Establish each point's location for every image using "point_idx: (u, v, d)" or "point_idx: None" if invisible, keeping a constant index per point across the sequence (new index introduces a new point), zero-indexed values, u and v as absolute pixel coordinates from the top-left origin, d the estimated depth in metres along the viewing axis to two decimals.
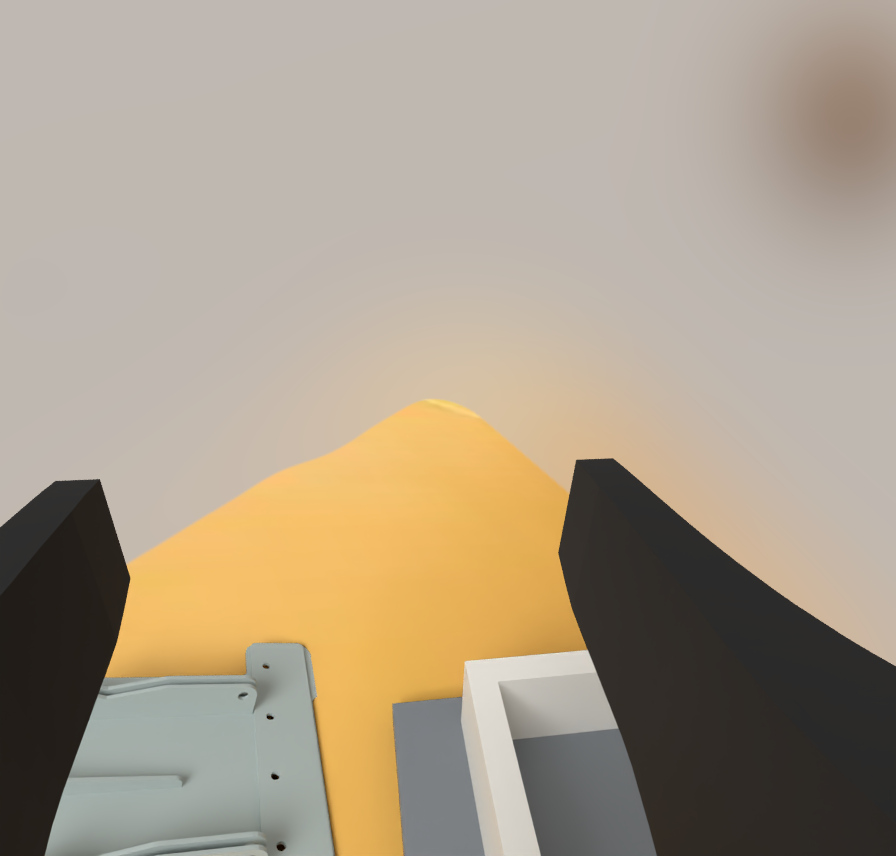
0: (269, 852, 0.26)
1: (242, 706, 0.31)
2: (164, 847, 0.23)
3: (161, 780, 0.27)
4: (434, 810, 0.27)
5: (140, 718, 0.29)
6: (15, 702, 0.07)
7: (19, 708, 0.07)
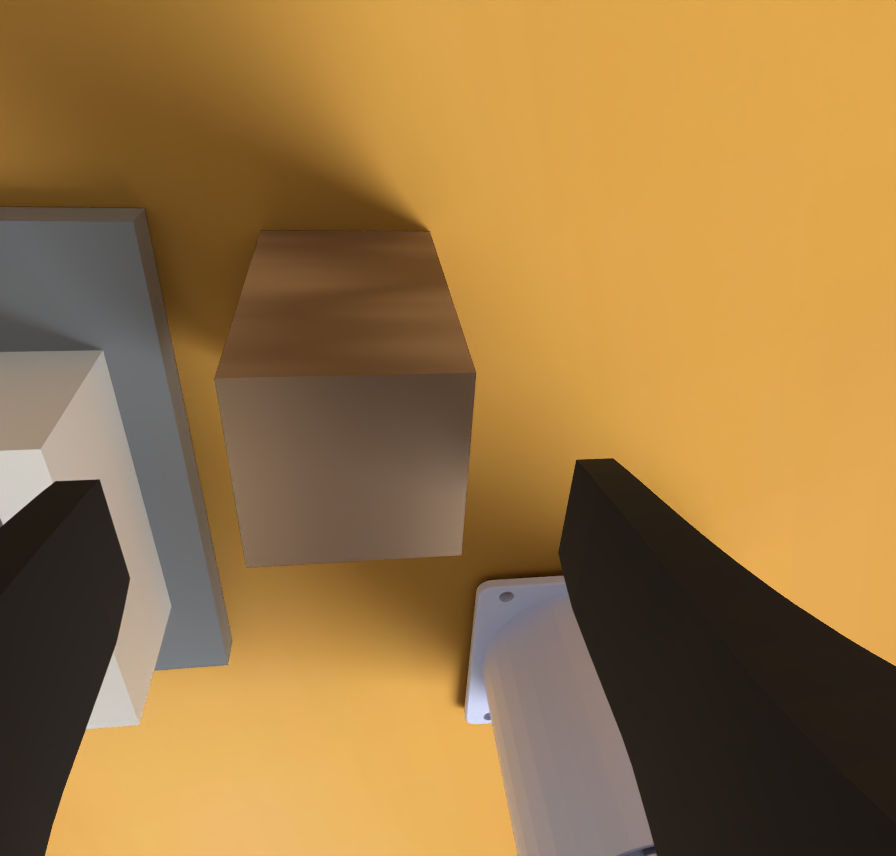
0: None
1: None
2: None
3: None
4: None
5: None
6: (15, 703, 0.07)
7: (19, 708, 0.07)
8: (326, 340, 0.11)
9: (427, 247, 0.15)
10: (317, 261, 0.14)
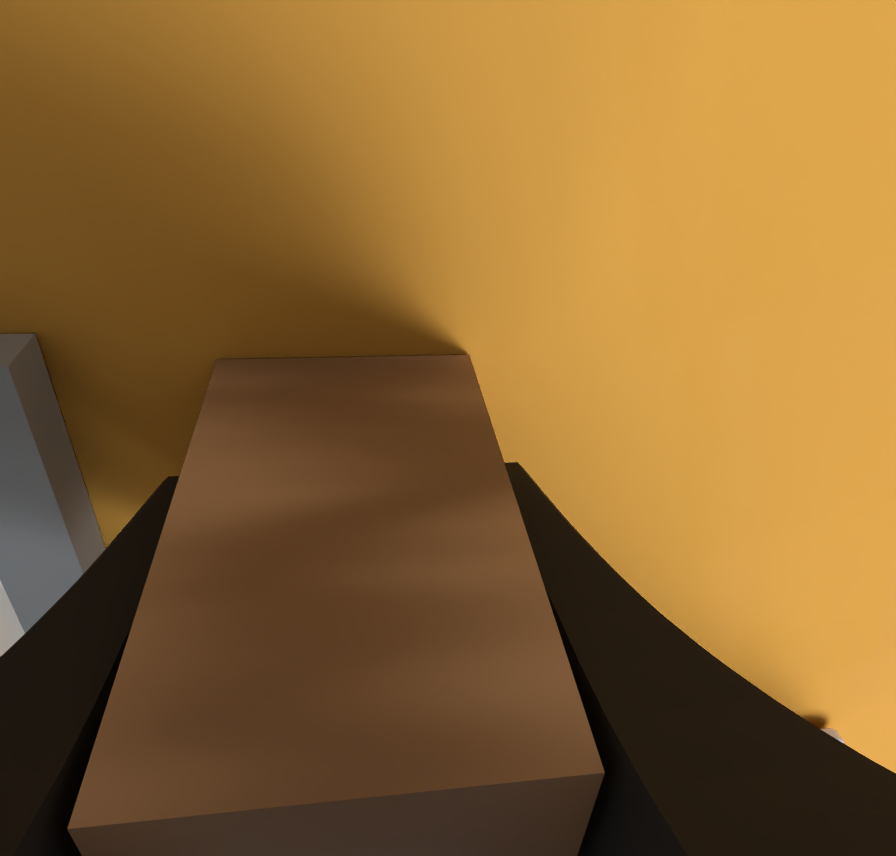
0: None
1: None
2: None
3: None
4: None
5: None
6: None
7: None
8: (307, 668, 0.06)
9: (470, 392, 0.10)
10: (299, 432, 0.09)
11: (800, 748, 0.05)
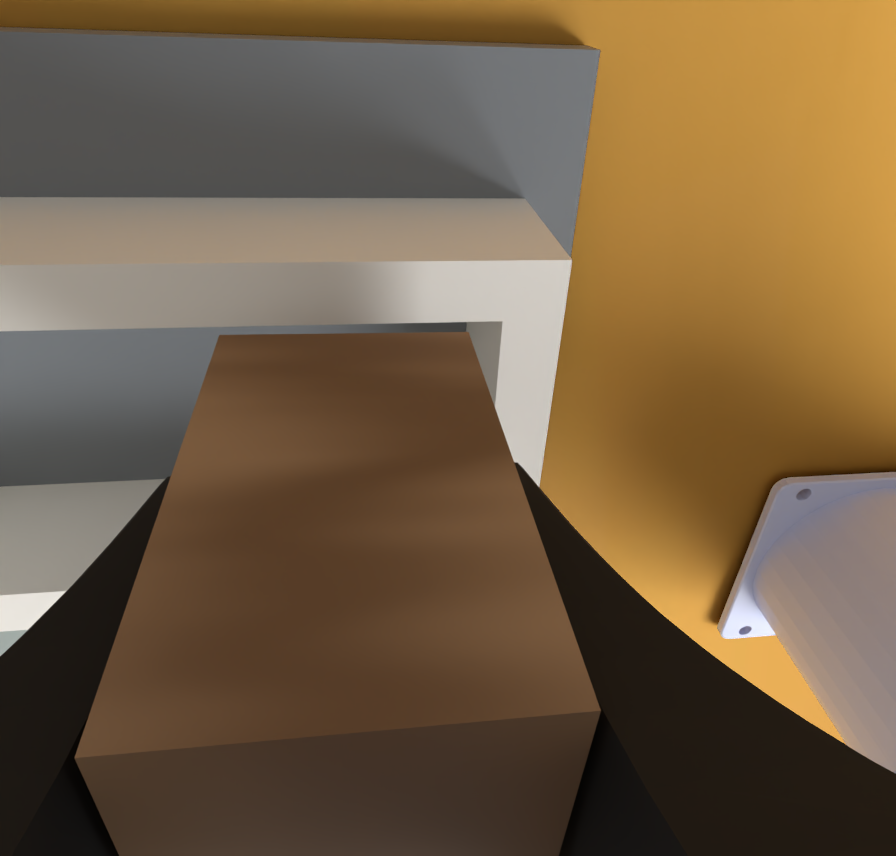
0: None
1: None
2: None
3: None
4: None
5: None
6: None
7: None
8: (310, 615, 0.06)
9: (469, 366, 0.10)
10: (300, 401, 0.09)
11: (801, 748, 0.05)
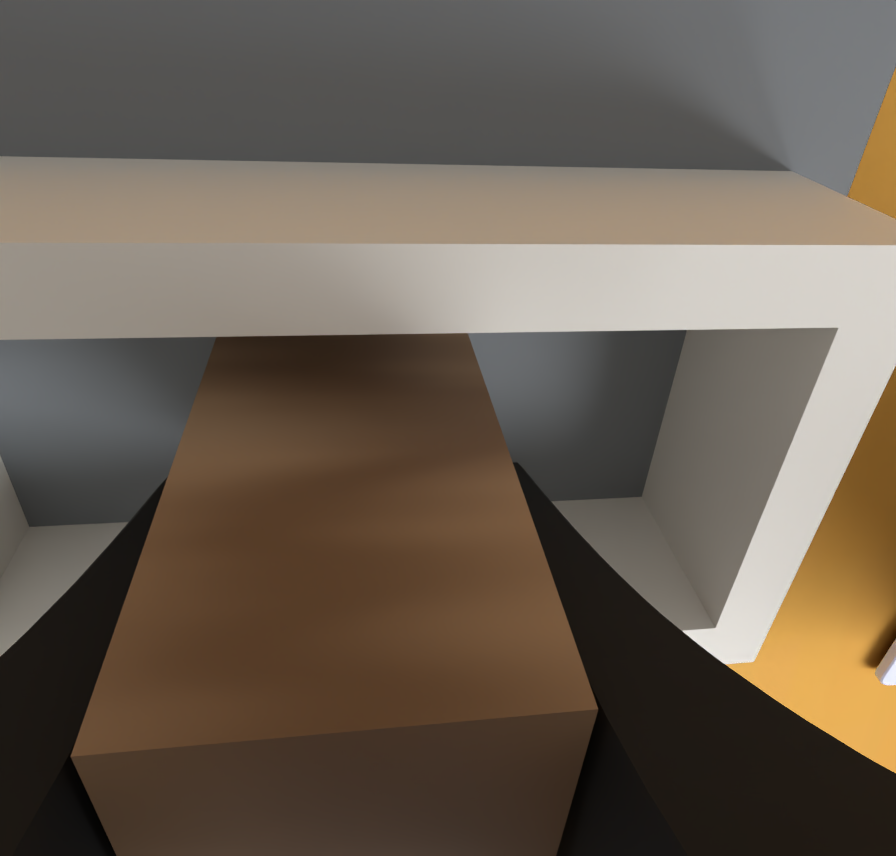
0: None
1: None
2: None
3: None
4: None
5: None
6: None
7: None
8: (306, 614, 0.06)
9: (467, 365, 0.10)
10: (298, 400, 0.09)
11: (800, 748, 0.05)
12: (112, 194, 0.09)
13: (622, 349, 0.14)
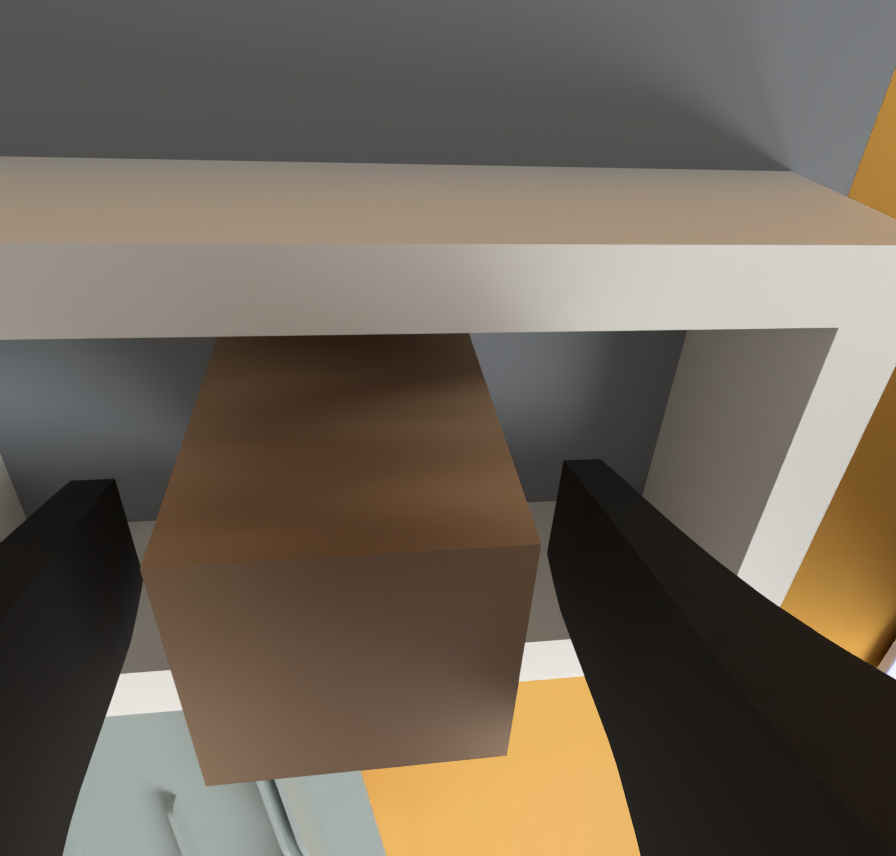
0: None
1: None
2: (285, 837, 0.19)
3: (179, 830, 0.20)
4: None
5: None
6: (35, 701, 0.07)
7: (39, 706, 0.08)
8: (316, 483, 0.08)
9: None
10: (305, 336, 0.11)
11: None
12: (113, 194, 0.09)
13: (622, 349, 0.14)
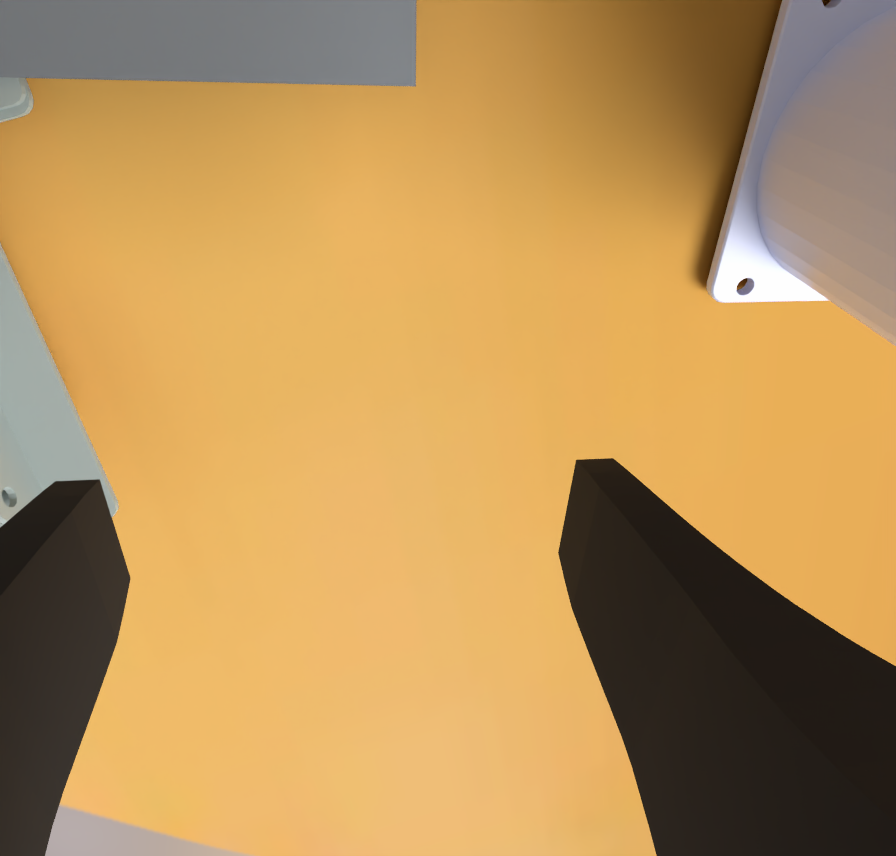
0: None
1: None
2: None
3: None
4: None
5: None
6: (15, 703, 0.07)
7: (19, 708, 0.07)
8: None
9: None
10: None
11: None
12: None
13: None
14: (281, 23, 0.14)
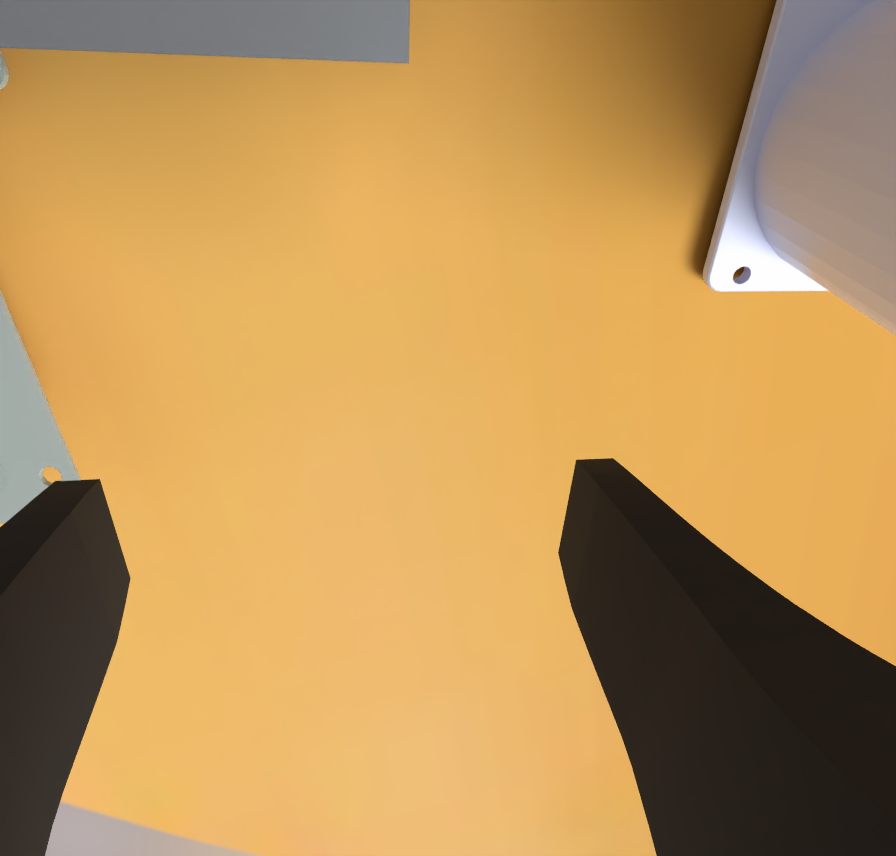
0: None
1: None
2: None
3: None
4: None
5: None
6: (15, 703, 0.07)
7: (19, 708, 0.07)
8: None
9: None
10: None
11: None
12: None
13: None
14: None
